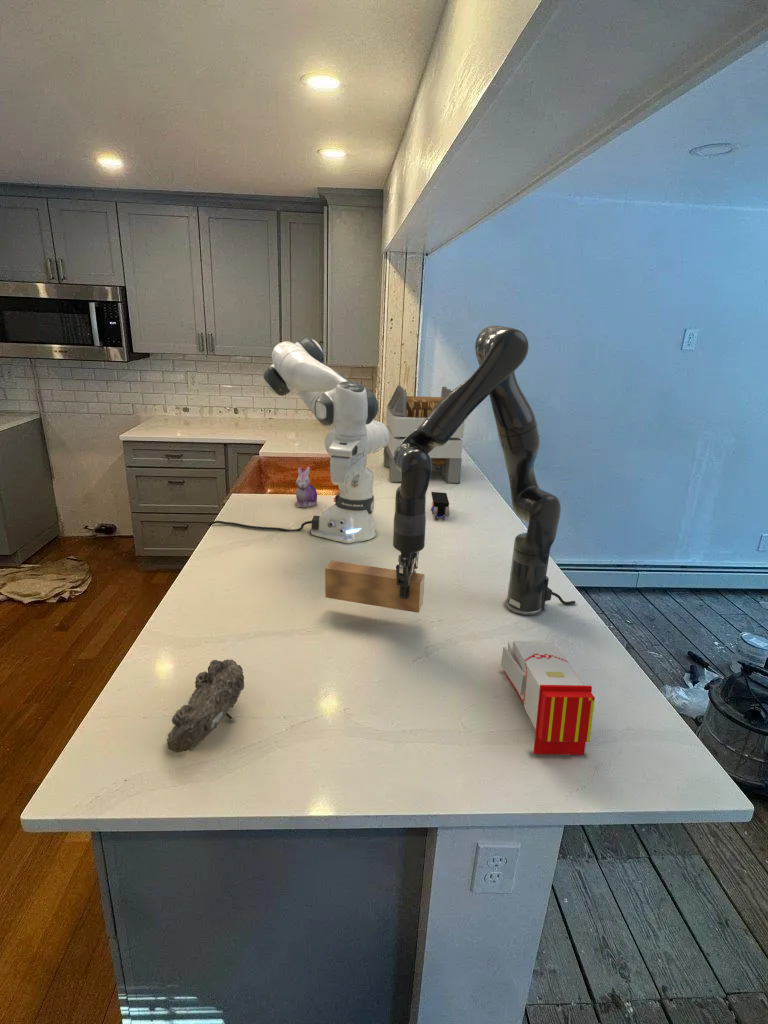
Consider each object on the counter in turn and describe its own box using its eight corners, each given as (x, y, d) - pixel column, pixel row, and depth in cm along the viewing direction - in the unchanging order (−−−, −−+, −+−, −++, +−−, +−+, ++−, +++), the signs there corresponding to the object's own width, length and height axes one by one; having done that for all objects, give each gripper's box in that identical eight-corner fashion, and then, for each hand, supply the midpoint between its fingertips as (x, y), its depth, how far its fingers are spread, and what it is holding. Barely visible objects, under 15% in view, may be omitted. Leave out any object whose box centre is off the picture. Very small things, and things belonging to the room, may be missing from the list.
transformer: (382, 463, 289) (386, 382, 275) (445, 464, 293) (451, 384, 279) (390, 482, 257) (394, 392, 243) (460, 483, 261) (468, 394, 247)
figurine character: (449, 525, 213) (445, 507, 227) (451, 507, 210) (447, 490, 224) (431, 524, 213) (428, 507, 227) (433, 506, 210) (430, 490, 223)
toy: (549, 624, 127) (604, 693, 98) (544, 678, 130) (596, 762, 100) (496, 622, 127) (535, 692, 97) (491, 677, 129) (528, 761, 100)
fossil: (192, 660, 117) (244, 628, 112) (224, 691, 120) (276, 661, 115) (142, 746, 98) (202, 712, 93) (182, 779, 101) (242, 748, 96)
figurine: (299, 509, 219) (299, 472, 214) (290, 501, 227) (290, 465, 222) (322, 506, 223) (322, 469, 218) (313, 498, 231) (313, 463, 226)
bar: (325, 597, 143) (324, 568, 141) (332, 589, 148) (331, 560, 145) (418, 613, 137) (420, 582, 134) (423, 603, 142) (424, 574, 139)
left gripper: (352, 434, 165) (350, 480, 169) (326, 450, 146) (325, 500, 151) (372, 437, 163) (371, 483, 168) (349, 452, 145) (348, 504, 149)
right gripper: (418, 542, 126) (414, 609, 132) (431, 520, 139) (427, 582, 145) (385, 537, 128) (383, 604, 134) (401, 516, 141) (399, 578, 147)
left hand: (349, 491), depth 159 cm, fingers open, 8 cm apart
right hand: (406, 592), depth 139 cm, fingers closed on bar, 4 cm apart
